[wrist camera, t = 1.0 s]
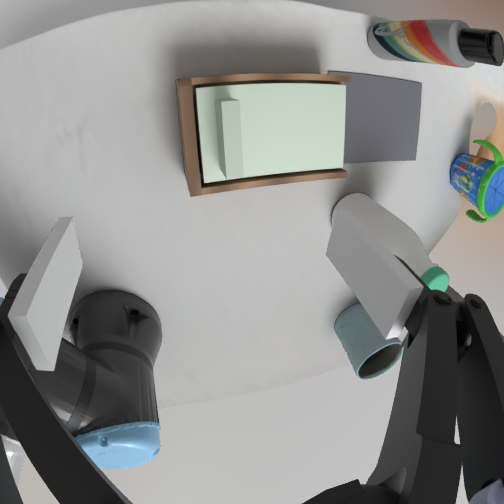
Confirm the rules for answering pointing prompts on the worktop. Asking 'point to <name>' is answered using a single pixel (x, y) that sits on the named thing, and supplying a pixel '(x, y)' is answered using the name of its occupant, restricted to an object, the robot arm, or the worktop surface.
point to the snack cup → (480, 182)
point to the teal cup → (366, 343)
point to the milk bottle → (395, 237)
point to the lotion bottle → (436, 43)
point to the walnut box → (191, 134)
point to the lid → (270, 128)
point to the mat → (380, 118)
